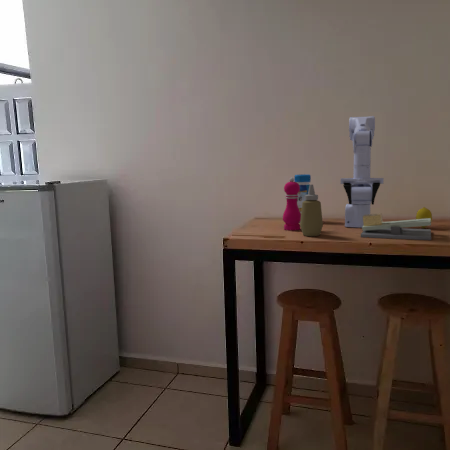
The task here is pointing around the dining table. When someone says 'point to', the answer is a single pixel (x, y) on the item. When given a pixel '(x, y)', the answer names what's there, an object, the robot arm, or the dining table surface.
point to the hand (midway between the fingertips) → (361, 204)
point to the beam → (400, 224)
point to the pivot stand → (398, 233)
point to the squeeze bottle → (311, 214)
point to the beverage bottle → (302, 188)
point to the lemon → (424, 214)
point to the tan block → (372, 219)
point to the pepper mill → (292, 206)
